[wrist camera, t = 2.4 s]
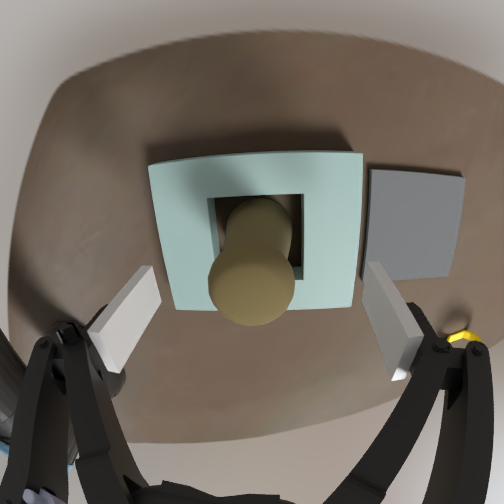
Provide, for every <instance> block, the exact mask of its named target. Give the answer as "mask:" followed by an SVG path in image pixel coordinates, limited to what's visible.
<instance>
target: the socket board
mask: <svg viewBox="0 0 504 504" xmlns="http://www.w3.org/2000/svg"><path fill="white" fill-rule="evenodd" d="M148 171H149V178H150V185H151V191H152V198H153V204H154V210H155V215H156V221H157V226H158V232H159V237H160V242H161V247H162V252H163V257H164V261H165V266H166V270H167V275H168V279H169V283H170V287H171V291H172V295H173V299H174V303H175V307H176V310H216V311H218V310H217V308H216V307H215V306H214V305H213V303H212V300H211V298H210V296H209V292H208V275H209V272H210V269H211V266H212V264H213V262H214V260H215V259H216V258H217V257H218V255H219V254H220V246H219V238H218V230H217V221H216V212H215V203H214V198H217V197H232V196H251V195H274V194H301V267H292V270H293V274H294V278H295V289H294V295H293V298H292V301H291V302H290V304H289V306H288V308H287V310H299V309H322V308H340V307H351V303H352V296H353V289H354V282H355V274H356V265H357V256H358V246H359V234H360V221H361V204H362V174H363V154H362V153H359V152H355V151H327V150H300V151H267V152H248V153H234V154H222V155H212V156H202V157H193V158H185V159H177V160H170V161H163V162H158V163H155V164H152V165H149V166H148Z"/></svg>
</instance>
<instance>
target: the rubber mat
mask: <svg viewBox="0 0 504 504" xmlns="http://www.w3.org/2000/svg"><path fill="white" fill-rule="evenodd" d="M465 179H466V178H464V177H460V176H452V175H444V174H435V173H425V172H414V171H401V170H385V169H370V175H369V201H368V217H367V230H366V241H365V251H364V260H363V268H362V276H361V280H362V282H365V276H366V269H367V262H375V261H379V262H380V263H381V265H382V266H383V268H384V269H385V271H386V272H387V274H388V276H389V277H390V279H391V280H392V281H393V280H407V279H420V278H432V277H444V276H449V272H450V269H451V265H452V260H453V256H454V252H455V247H456V242H457V237H458V232H459V226H460V220H461V214H462V207H463V199H464V190H465Z"/></svg>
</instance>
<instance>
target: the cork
mask: <svg viewBox="0 0 504 504" xmlns="http://www.w3.org/2000/svg"><path fill="white" fill-rule="evenodd" d="M292 230H293V226H292V222H291V218H290V216H289V215H288V213H287V212H286V210H285V209H284V208H283V207H282V206H281V205H279V204H278V203H277V202H275V201H272V200H269V199H267V198H252V199H248V200H245V201H243V202H242V203H240V204H238V205H237V206H236V207H235V208H234V209H233V210H232V212H231V213H230V214H229V217H228V220H227V223H226V232H225V242H224V250H223V251H222V252H221V253H220V254H219V255H218V257H217V258H216V259H215V260H214V262H213V264H212V266H211V269H210V272H209V275H208V292H209V296H210V298H211V300H212V303H213V305H214V306H215V307H216V308H217V310H218V311H219V312H220V313H221V314H222V315H223V316H224V317H226V318H227V319H229V320H231V321H232V322H235V323H238V324H241V325H249V326H256V325H262V324H266V323H268V322H270V321H273V320H275V319H276V318H278V317H279V316H280V315H281V314H282V313H283V312H284V311H285V310H287V308H288V306H289V304H290V302H291V301H292V298H293V295H294V289H295V278H294V274H293V270H292V266H291V265H290V263H289V262H288V260H287V259H288V254H289V249H290V244H291V239H292Z"/></svg>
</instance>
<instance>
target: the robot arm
mask: <svg viewBox="0 0 504 504" xmlns="http://www.w3.org/2000/svg"><path fill="white" fill-rule="evenodd" d="M362 303H363V305H364V308H365V310H366V313H367V315H368V318H369V320H370V323H371V325H372V328H373V331H374V333H375V336H376V339H377V341H378V344H379V347H380V350H381V352H382V355H383V358H384V361H385V364H386V367H387V370H388V373H389V376H390V379H391V381H394V380H400V379H405V378H406V376H407V374H408V372H409V370H410V373H411V375H412V377H411V379H410V381H409V383H408V385H407V387H406V389H405V391H404V392H403V394H402V396H401V398H400V400H399V402H398V403H397V405H396V407H395V408H394V410H393V412H392V413H391V415H390V417H389V418H388V420H387V422H386V423H385V425H384V426H383V428H382V430H381V431H380V433H379V434H378V436H377V437H376V438H375V440H374V441H373V443H372V444H371V446H370V447H369V449H368V450H367V451H366V453H365V454H364V455H363V457H362V458H361V459H360V461H359V462H358V463H357V465H356V466H355V467H354V469H353V470H352V471H351V472H350V473H349V475H348V476H347V477H346V478H345V479H344V480H343V482H342V483H341V484H340V485H339V486H338V487H337V489H336V490H335V491H334V492H333V493H332V494H331V495H330V496H329V497H328V498H327V500H326V501H325V502H324V503H323V504H380V503H381V502H382V500H383V499H384V497H385V495H386V491H387V489H388V487H389V486H390V484H391V483H392V481H393V480H394V478H395V477H396V475H397V474H398V472H399V470H400V469H401V467H402V465H403V464H404V462H405V461H406V459H407V457H408V455H409V453H410V452H411V450H412V448H413V446H414V444H415V443H416V440H417V439H418V437H419V435H420V433H421V431H422V429H423V427H424V424H425V422H426V420H427V418H428V416H429V414H430V411H431V409H432V407H433V404H434V402H435V400H436V397H437V395H438V392H439V390H441V389H442V390H445V396H444V406H443V415H442V422H441V429H440V436H439V441H438V446H437V451H436V456H435V461H434V465H433V469H432V473H431V477H430V480H429V484H428V487H427V491H426V494H425V497H424V500H423V503H422V504H484V503H485V499H486V494H487V489H488V483H489V477H490V470H491V461H492V451H493V435H494V404H493V403H494V401H493V385H492V374H491V364H490V357H489V351H488V348H487V347H486V346H485V344H483V343H482V342H479V341H470V342H469V343H468V344H467V346H466V348H465V349H463V348H453V347H452V346H451V344H450V343H449V342H448V341H447V340H445V339H443V338H439V337H438V336H437V335H436V333H435V331H434V330H433V328H432V326H431V325H430V323H429V321H427V318H426V316H425V315H424V313H423V312H422V310H421V309H420V307H418V306H417V305H416V304H415V303H413V302H411V303H405V301H404V300H403V298H402V296H401V295H400V293H399V291H398V290H397V288H396V287H395V285H394V283H393V282H392V280H391V279H390V277H389V276H388V274H387V272H386V271H385V269H384V268H383V266H382V265H381V263H380V262H379V261H375V262H367V269H366V276H365V283H364V289H363V295H362ZM160 304H161V298H160V294H159V291H158V287H157V283H156V279H155V275H154V271H153V267H152V266H141V267H140V268H139V270H138V271H137V272H136V273H135V274H134V275H133V276H132V278H131V279H130V280H129V281H128V282H127V283H126V284H125V286H124V287H123V288H122V289H121V290H120V291H119V293H118V294H117V295H116V296H115V297H114V299H113V300H112V301H111V302H110V303H109V304H106V305H105V306H103V307H102V308H101V309H100V310H99V311H98V312H97V313H96V314H95V316H94V317H93V318H92V320H90V322H89V323H88V324H87V325H86V327H85V328H82V327H80V326H78V324H77V322H75V321H72V320H70V321H66V322H64V321H61V322H57V323H55V324H54V325H53V326H52V327H51V328H50V330H49V331H48V332H47V333H46V335H45V337H41V338H40V339H39V340H38V341H37V342H36V343H35V345H34V348H33V351H32V354H31V357H30V360H29V363H28V366H26V365H25V363H24V362H23V361H22V359H21V358H20V357H19V355H18V354H17V353H16V351H15V350H14V348H13V347H12V345H11V344H10V342H9V341H8V339H7V338H6V336H5V335H4V333H3V332H2V330H1V329H0V451H1V452H2V453H3V454H4V455H6V456H7V457H8V465H7V468H6V471H5V474H4V476H3V479H2V482H1V485H0V504H68V494H69V493H68V472H69V471H70V469H71V468H72V467H73V465H74V464H73V463H74V461H75V465H76V470H77V473H78V476H79V480H80V483H81V486H82V489H83V492H84V495H85V498H86V500H87V503H88V504H295V503H293V502H289V501H286V500H282V499H280V495H265V494H244V495H236V496H227V497H216V496H213V495H210V494H207V493H205V492H202V491H200V490H197V489H195V488H192V487H190V486H186V485H182V484H177V483H173V482H169V481H164V480H163V481H162V484H161V485H155V486H149V484H148V483H147V482H146V480H145V479H144V478H143V477H142V475H141V473H140V471H139V469H138V467H137V465H136V463H135V461H134V458H133V456H132V454H131V452H130V449H129V447H128V445H127V442H126V440H125V437H124V435H123V432H122V429H121V427H120V424H119V421H118V419H117V416H116V413H115V410H114V407H113V404H112V401H111V398H113V397H115V396H116V395H118V394H119V392H120V391H121V389H122V387H123V385H124V383H125V379H126V376H125V371H124V369H123V366H124V365H125V363H126V361H127V359H128V358H129V356H130V354H131V352H132V351H133V349H134V347H135V345H136V344H137V342H138V340H139V339H140V337H141V335H142V333H143V332H144V330H145V328H146V327H147V325H148V323H149V322H150V320H151V318H152V317H153V315H154V313H155V312H156V310H157V309H158V307H159V305H160ZM78 452H79V456H80V457H79V459H76V456H77V454H78ZM75 459H76V460H75ZM279 500H280V501H279Z"/></svg>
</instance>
